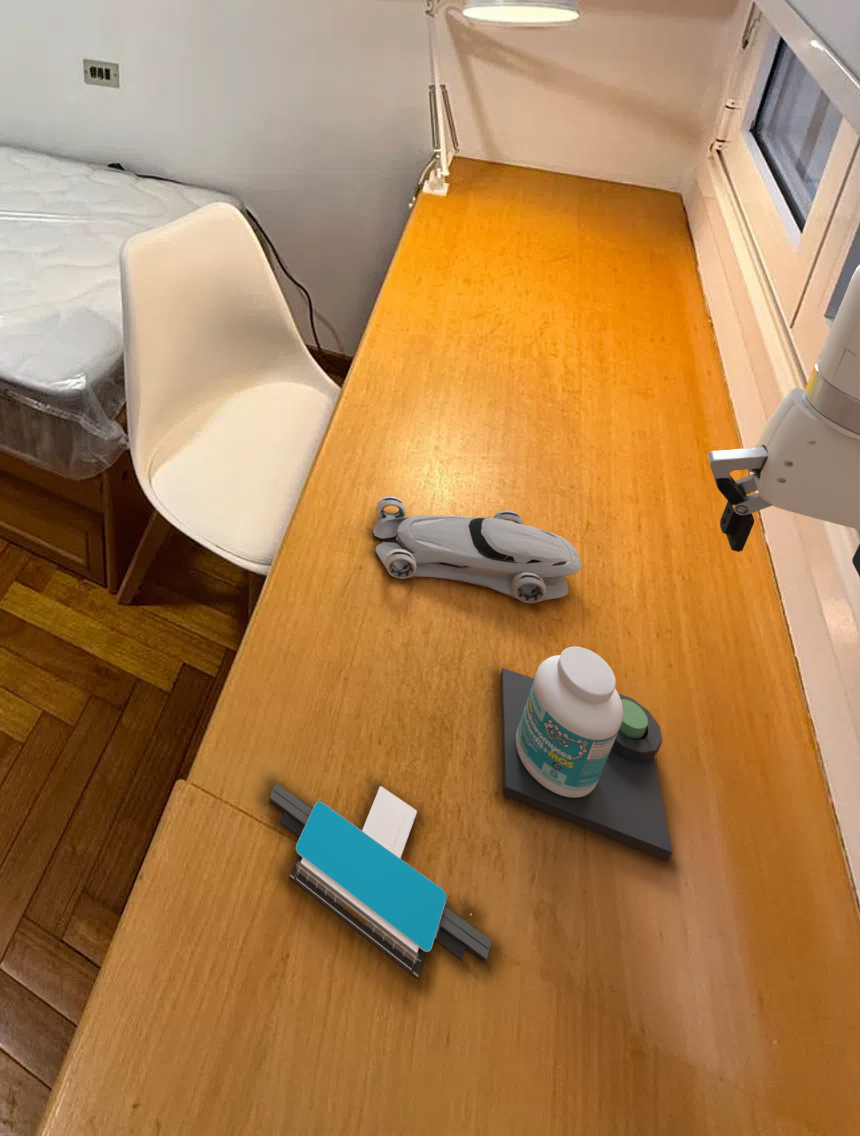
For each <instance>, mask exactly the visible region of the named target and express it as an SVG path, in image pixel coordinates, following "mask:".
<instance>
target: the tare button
mask: <svg viewBox="0 0 860 1136" xmlns="http://www.w3.org/2000/svg"><path fill="white" fill-rule="evenodd" d="M621 702H622V707H623V719H622V723H621V726H620V728H619V731H620V732H621V733H622V734H624V735H625V736H627V737H630V738H633V739H638V738H641V737H642V736H643V735H644V733H645V730H646V728H647V725H648V719H647V716H646V714H645V713H644V711H643V710H642V709H641V708H640V707H639V706H638V705H636V704H635V703H633V702H631V701H629V700H625V699H621Z"/></svg>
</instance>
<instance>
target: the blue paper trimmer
mask: <svg viewBox="0 0 860 1136" xmlns="http://www.w3.org/2000/svg"><path fill="white" fill-rule="evenodd" d="M268 801H269V802H271V803H272V804H273V805H274V806H276V807H277V808H278V809H280V810H281V811H283V814H282V816H281V818H280V820H279V824H281V825H283V826H284V827H285V828H287V829H288V830H289V831H290V832H292V833H293V834H295V836H297V837H298V840H297V842H296V845H295V851H296V854H297V857H296V861H295V862H294V864H293V866H292V867H291V870H290V872H289V875H288V878H289V879H290V880H292V881H293V882H294V883H295V884H296V885H298V886H299V887H300V888H302V889H303V890H304V891H306V893H308V894H309V895H311V896H312V897H314V899H316V900H317V901H318V902H319V903H321V905H323V906H324V907H326V908H327V909H328V910H330V911H331V912H332V913H333V914H334V915H336V916H337V917H338V918H339V919H341V920H342V921H344V922H345V923H346V924H347V925H348V926H350V927H351V928H352V929H353V930H355V931H356V932H357V933H359V934H360V935H361V936H362V937H364V938H365V939H366V940H367V941H369V942H370V943H371V944H372V945H373V946H375V947H376V948H377V949H379V950H380V951H381V952H383V953H384V954H385V955H386V956H388V957H389V958H390V959H391V960H393V961H394V962H395V963H396V964H397V965H399V966H400V967H401V968H403V969H404V970H405V971H406V972H408V973H409V974H410V975H411V976H413V977H414V978H415V979H417V980H419V976H420V973H421V969H422V966H423V963H424V960H425V956H426V954H427V953H429V952H431V951H432V948H433V945H434V941H435V942H437V943H438V944H439V945H441V946H442V947H443V948H444V949H446V950H447V951H449V952H450V953H451V954H452V955H454V956H455V957H457V958H458V959H460V960H461V961H463V959H464V955H465V951H466V949H467V950H468V951H469V952H471V953H472V954H474V955H475V956H476V957H478V958H479V959H481V961H483V962H485V963H487V960H488V957H489V954H490V949H491V946H492V941H493V940H492V939H490V938H489V937H488V936H486V934H484V933H482V932H481V931H479V930H478V929H477V928H475V927H474V926H473V925H471V924H470V923H469V922H467V921H466V919H464V918H463V917H461V916H460V915H459V914H458V913H456V912H455V911H453V910H452V909H451V908H449V907H448V906H447V905H446V903H447V893H446V891H445V890H444V889H443V888H442V887H440V885H437V884H436V883H435V882H434V881H433V880H431V879H429V878H428V877H427V876H425V875H424V874H423V873H421V872H420V871H418V870H417V869H415V868H414V867H413V866H412V865H410V864H409V863H407V862H406V861H405V860H403V859H402V856H403V852H404V850H405V847H406V845H407V842H408V838H409V837H410V834H411V830H412V828H413V825H414V822H415V819H416V817H417V814H418V810H417V809H415V807H412V806H411V805H409V804H408V803H407V802H405V801H404V800H402V799H401V798H399V797H398V796H396V795H395V794H393V793H392V792H391V791H389V790H388V789H386V788H385V787H383V786H381V785H380V786H379V788H378V790H377V793H376V795H375V798H374V799H373V802H372V805H371V808H370V810H369V811H368V812H369V813H368V815H367V817H366V819H365V822H364V825H363V827H362V829H360V828H359V827H358V826H356V825H355V824H353V822H350V821H349V820H348V819H346V818H345V817H344V816H342V815H341V814H339V813H338V812H337V811H336V810H334V809H332V808H331V807H330V806H328V805H327V804H326V803H324V802H322V801H321V800H320V801H319V800H318V801H316V802H315V804H314V805H313V808H312V807H311V806H310V805H308V804H307V803H306V802H304V801H303V800H302V799H300V798H299V797H296V796H295V795H294V794H292V792H289V790H287V789H286V788H284V787H282V786H281V785H280V784H279V783H277V782H276V783H275V784H274V787H273V789H272V790H271V792H270V795H269V800H268ZM469 915H470V916H473V915H472V913H470V914H469Z"/></svg>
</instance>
